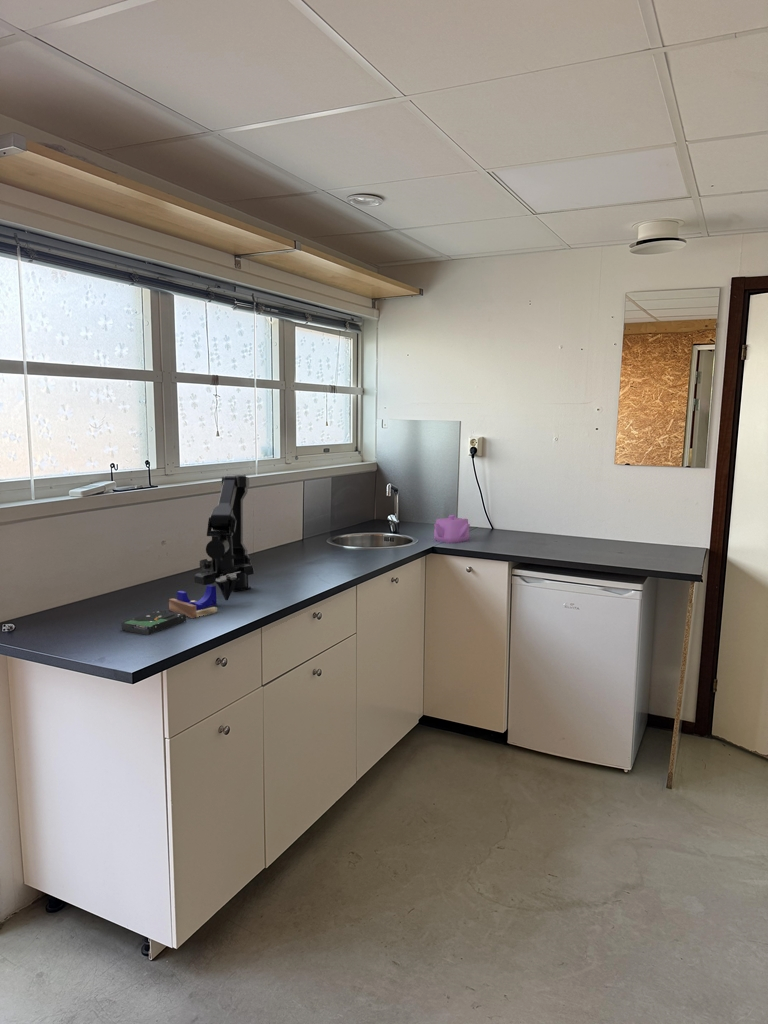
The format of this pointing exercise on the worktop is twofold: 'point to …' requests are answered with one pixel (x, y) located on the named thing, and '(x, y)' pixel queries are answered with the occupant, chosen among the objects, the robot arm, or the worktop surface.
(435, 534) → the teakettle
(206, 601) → the blue cradle bracket
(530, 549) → the worktop surface
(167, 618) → the disk drive
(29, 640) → the worktop surface
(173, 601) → the frame
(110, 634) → the worktop surface
